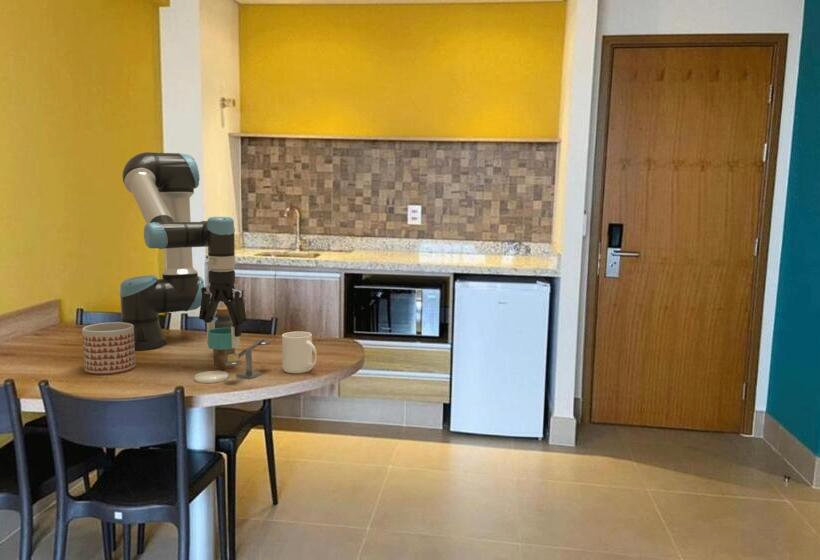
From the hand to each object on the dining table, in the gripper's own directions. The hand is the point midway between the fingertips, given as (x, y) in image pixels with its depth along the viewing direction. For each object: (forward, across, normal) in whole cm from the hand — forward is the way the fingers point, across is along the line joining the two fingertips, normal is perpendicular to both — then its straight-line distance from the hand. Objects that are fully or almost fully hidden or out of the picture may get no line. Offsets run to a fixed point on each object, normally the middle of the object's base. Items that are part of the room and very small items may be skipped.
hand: (223, 345), depth 197 cm
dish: (+6, +6, -12) cm, 15 cm away
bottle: (+7, -10, +13) cm, 18 cm away
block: (+7, +1, 0) cm, 7 cm away
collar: (0, 0, 0) cm, 0 cm away
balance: (+6, +13, -5) cm, 15 cm away
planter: (+7, -28, -17) cm, 33 cm away
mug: (+6, +24, +6) cm, 25 cm away
